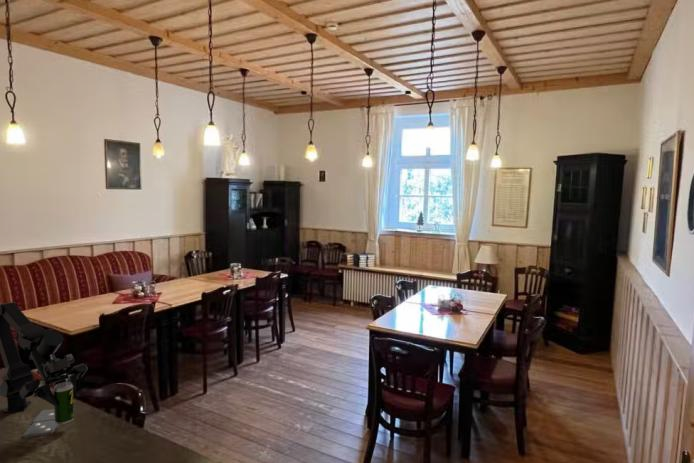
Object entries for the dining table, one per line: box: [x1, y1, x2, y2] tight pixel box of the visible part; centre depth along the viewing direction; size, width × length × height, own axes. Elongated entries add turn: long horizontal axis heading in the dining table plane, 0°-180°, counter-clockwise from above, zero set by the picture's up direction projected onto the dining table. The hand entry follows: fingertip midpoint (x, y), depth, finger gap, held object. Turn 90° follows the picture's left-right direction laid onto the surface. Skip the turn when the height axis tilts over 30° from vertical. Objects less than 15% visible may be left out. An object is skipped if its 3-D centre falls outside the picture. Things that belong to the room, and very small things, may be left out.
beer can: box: [52, 381, 75, 425], centre depth 139 cm, size 5×5×12 cm
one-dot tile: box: [32, 408, 55, 424], centre depth 148 cm, size 8×8×1 cm
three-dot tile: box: [22, 420, 60, 439], centre depth 140 cm, size 8×8×1 cm
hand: (66, 401), depth 138 cm, fingers closed on beer can, 5 cm apart
